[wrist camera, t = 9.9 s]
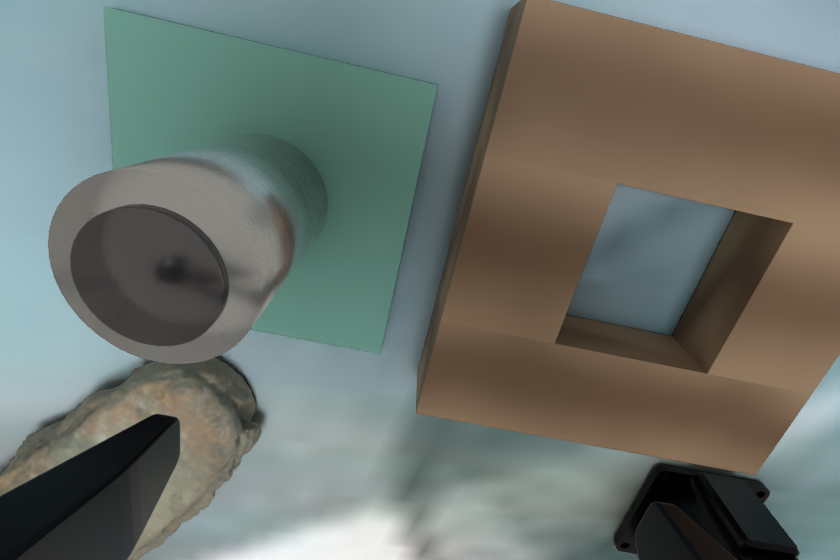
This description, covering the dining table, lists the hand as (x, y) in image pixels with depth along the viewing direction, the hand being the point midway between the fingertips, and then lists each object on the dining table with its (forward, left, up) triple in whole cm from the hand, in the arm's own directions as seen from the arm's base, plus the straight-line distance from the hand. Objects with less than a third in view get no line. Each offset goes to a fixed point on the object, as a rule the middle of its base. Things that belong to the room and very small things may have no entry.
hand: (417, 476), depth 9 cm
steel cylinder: (+1, +7, -12) cm, 14 cm away
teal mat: (+1, +7, -13) cm, 14 cm away
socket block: (+2, -9, -13) cm, 16 cm away
